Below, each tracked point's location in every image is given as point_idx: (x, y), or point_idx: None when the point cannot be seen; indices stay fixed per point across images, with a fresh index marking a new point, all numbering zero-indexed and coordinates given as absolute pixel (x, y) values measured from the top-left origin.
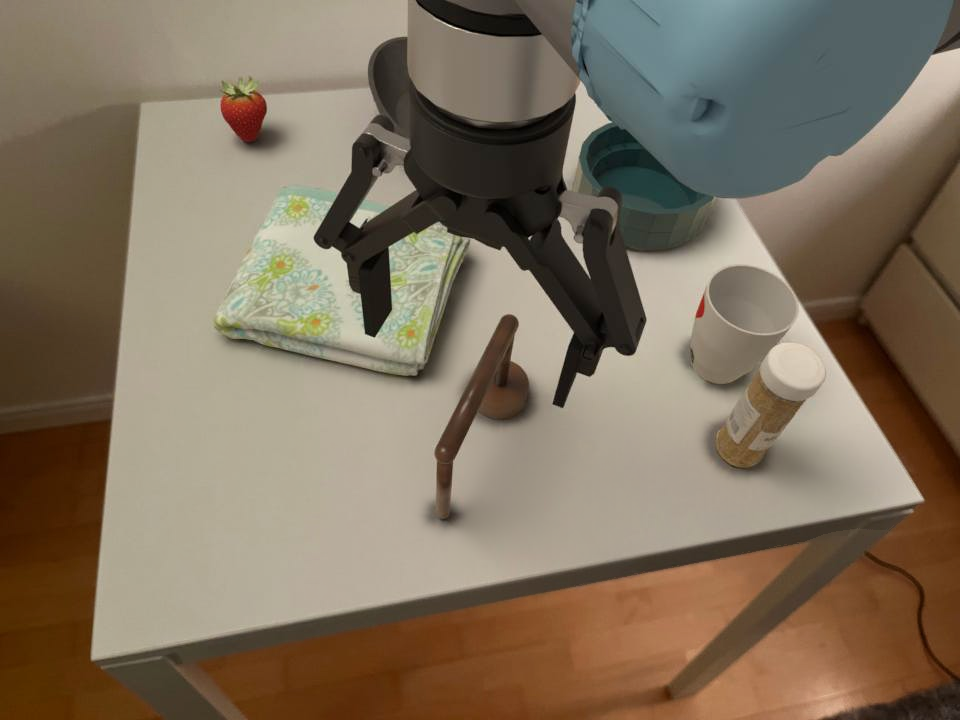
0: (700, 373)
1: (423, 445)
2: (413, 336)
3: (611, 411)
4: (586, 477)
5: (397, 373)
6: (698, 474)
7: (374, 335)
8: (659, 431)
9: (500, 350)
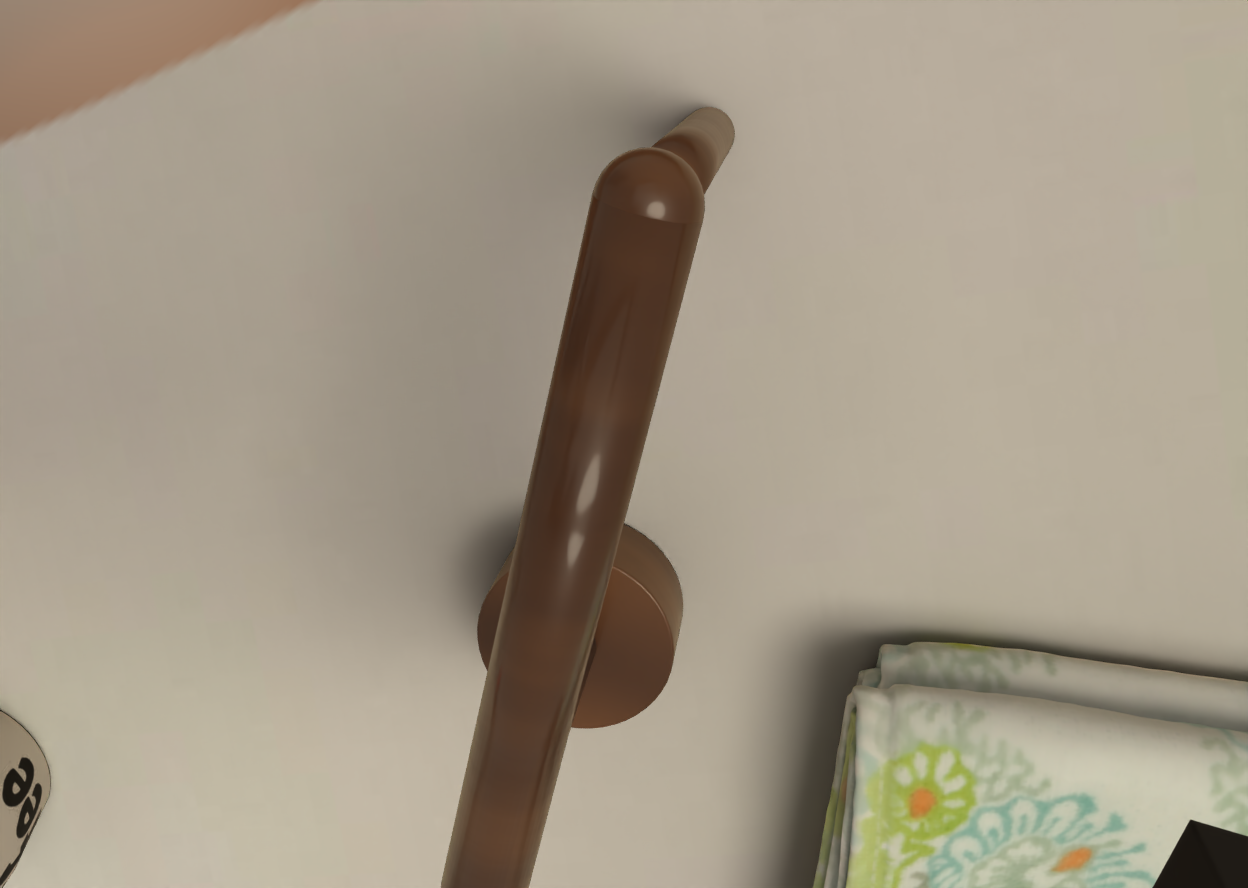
0: (1, 726)
1: (818, 388)
2: (909, 792)
3: (233, 581)
4: (263, 345)
5: (951, 646)
6: None
7: (1200, 839)
8: (84, 530)
9: (481, 766)
